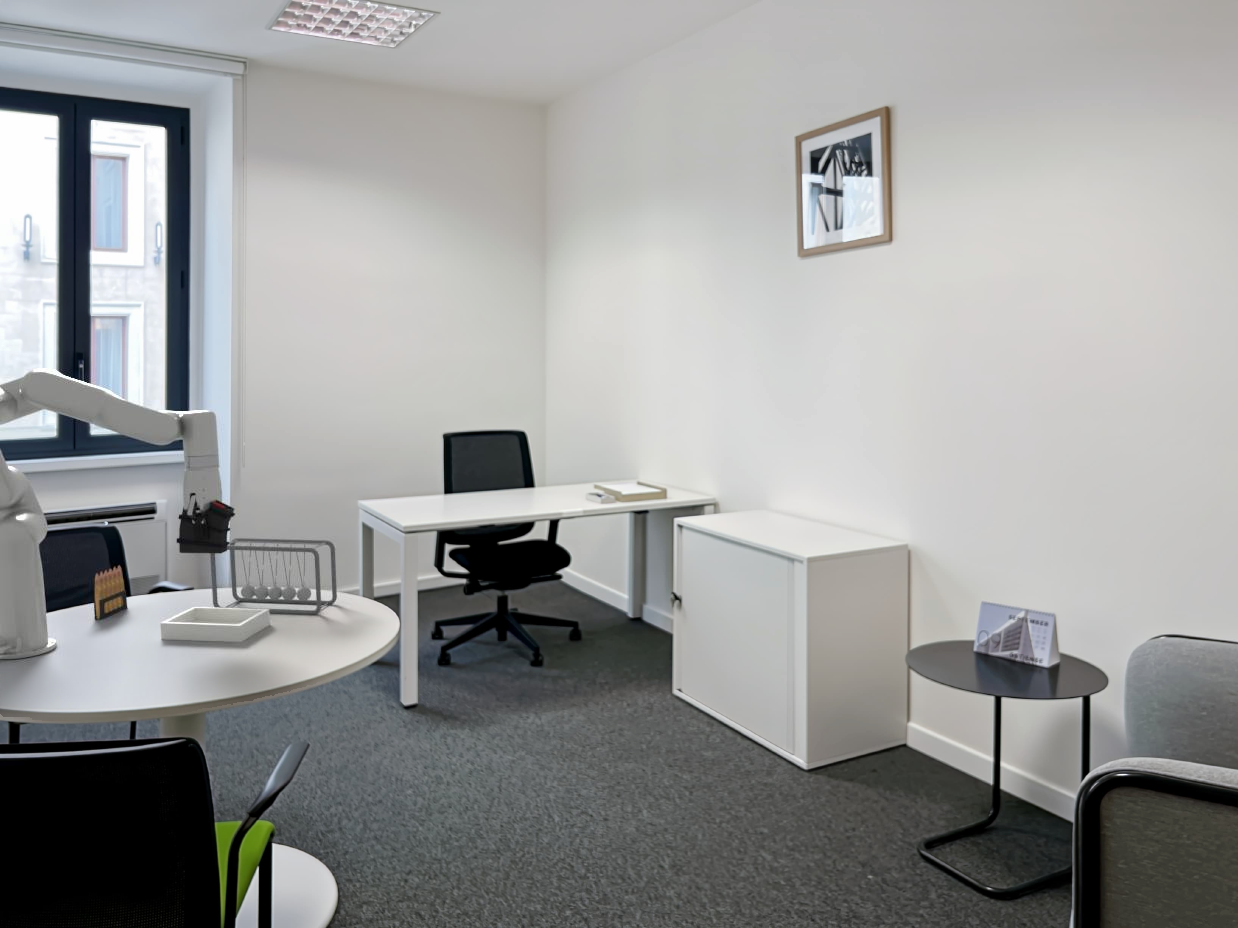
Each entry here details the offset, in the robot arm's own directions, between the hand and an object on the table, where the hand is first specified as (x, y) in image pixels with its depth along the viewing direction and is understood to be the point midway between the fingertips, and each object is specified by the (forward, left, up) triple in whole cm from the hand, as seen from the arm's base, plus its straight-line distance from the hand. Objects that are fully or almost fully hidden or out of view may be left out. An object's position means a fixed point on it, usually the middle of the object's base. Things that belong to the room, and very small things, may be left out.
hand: (206, 536), depth 220 cm
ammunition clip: (+11, +35, -24) cm, 44 cm away
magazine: (0, 0, -4) cm, 4 cm away
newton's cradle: (+22, -5, -24) cm, 33 cm away
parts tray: (0, -1, -24) cm, 24 cm away
